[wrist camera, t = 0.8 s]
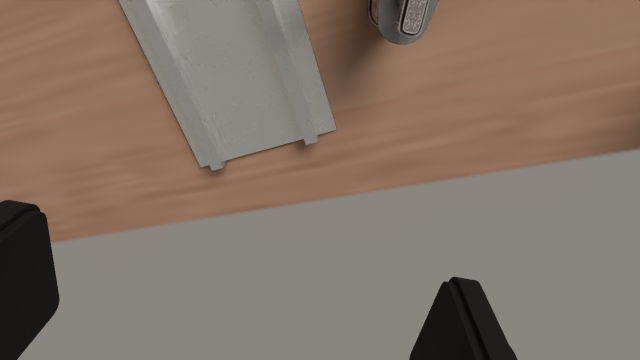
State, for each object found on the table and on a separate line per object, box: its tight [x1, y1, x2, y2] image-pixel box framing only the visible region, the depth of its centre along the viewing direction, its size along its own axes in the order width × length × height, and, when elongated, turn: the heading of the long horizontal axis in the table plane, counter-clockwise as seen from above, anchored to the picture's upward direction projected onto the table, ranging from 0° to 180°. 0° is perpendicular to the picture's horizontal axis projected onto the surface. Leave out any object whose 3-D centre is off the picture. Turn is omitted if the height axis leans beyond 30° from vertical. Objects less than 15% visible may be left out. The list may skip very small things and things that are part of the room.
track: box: [119, 0, 337, 171], centre depth 28 cm, size 12×18×2 cm, turn 17°
